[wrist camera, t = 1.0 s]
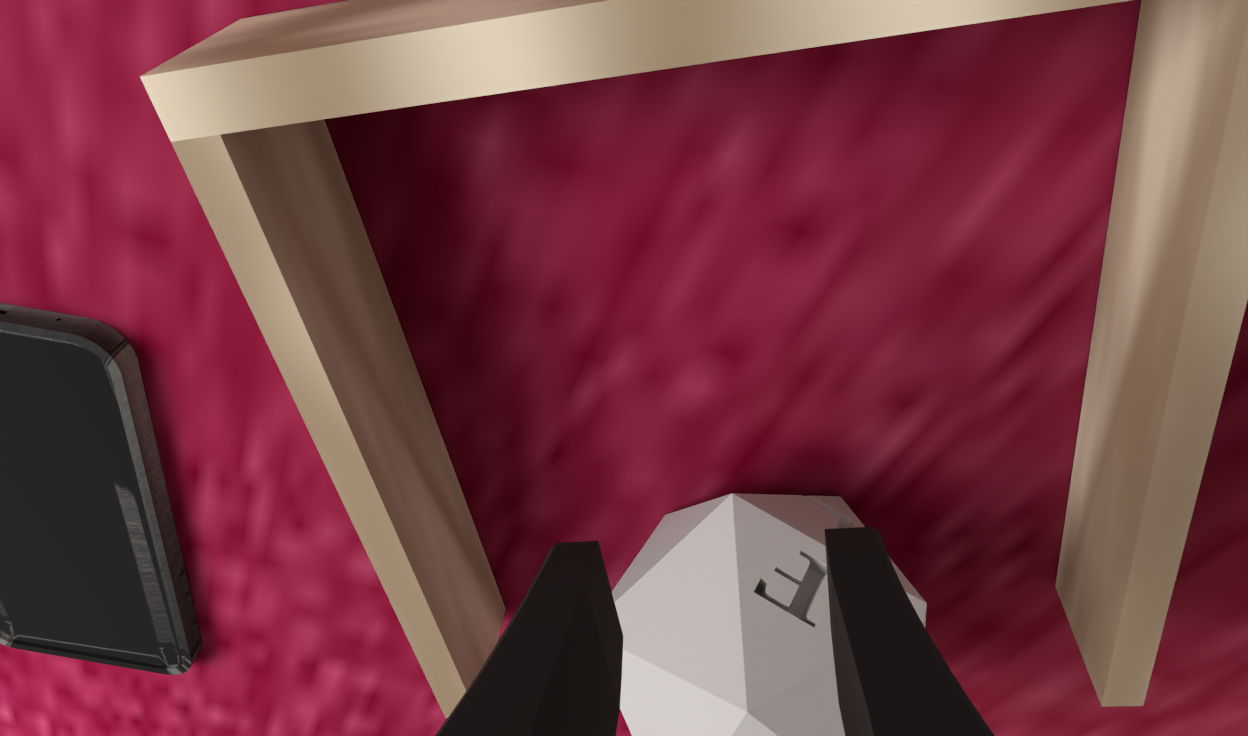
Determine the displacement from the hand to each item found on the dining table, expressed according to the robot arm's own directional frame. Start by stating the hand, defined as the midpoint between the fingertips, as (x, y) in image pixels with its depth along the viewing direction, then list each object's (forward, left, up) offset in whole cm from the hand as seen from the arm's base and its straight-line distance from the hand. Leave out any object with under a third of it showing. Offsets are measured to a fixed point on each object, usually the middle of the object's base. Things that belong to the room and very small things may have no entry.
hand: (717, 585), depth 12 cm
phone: (+22, +6, -11) cm, 25 cm away
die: (0, +10, -11) cm, 15 cm away
